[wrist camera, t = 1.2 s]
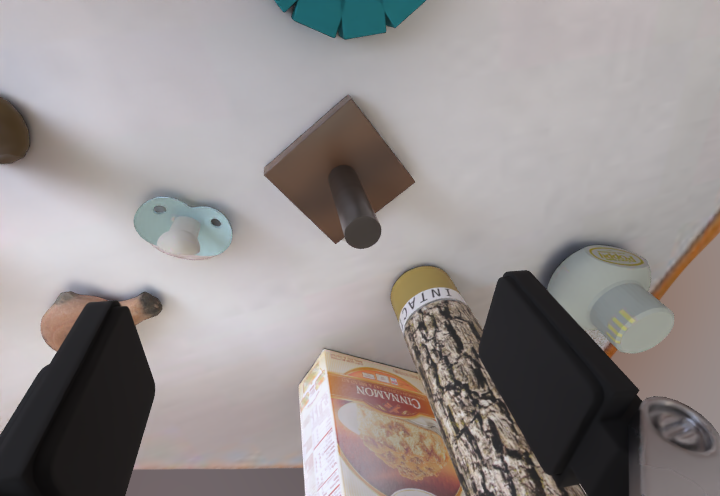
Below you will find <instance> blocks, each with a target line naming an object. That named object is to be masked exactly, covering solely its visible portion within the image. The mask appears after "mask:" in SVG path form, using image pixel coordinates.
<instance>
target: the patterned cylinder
mask: <svg viewBox="0 0 720 496" xmlns="http://www.w3.org/2000/svg"><path fill="white" fill-rule="evenodd" d="M391 303H392V306H393V308H394V311H395V314H396V316H397V319H398V322H399V324H400V327H401V330H402V333H403V335H404V338H405V341H406V343H407V346H408V348H409V351H410V354H411V356H412V359H413V362H414V364H415V367H416V369H417V372H418V375H419V377H420V380H421V382H422V385H423V388H424V390H425V393H426V396H427V398H428V401H429V403H430V406H431V409H432V411H433V414H434V417H435V419H436V422H437V424H438V427H439V430H440V432H441V435H442V437H443V440H444V443H445V445H446V448H447V451H448V453H449V456H450V458H451V461H452V464H453V466H454V469H455V472H456V474H457V477H458V479H459V482H460V485H461V487H462V490H463V492H464V495H465V496H586V494H585V493H584V491H583V489H582V488H581V486H580V485H574V486H569V487H563V488H558V486H557V485H556V483H555V481H554V479H553V478H552V476H551V475H548V474H546V473H545V472H544V471H543V469H542V468H541V466H540V464H539V462H538V461H537V459H536V457H535V455H534V454H533V452H532V450H531V448H530V447H529V445H528V443H527V441H526V439H525V438H524V436H523V434H522V432H521V431H520V429H519V427H518V425H517V424H516V422H515V420H514V418H513V416H512V415H511V413H510V411H509V409H508V408H507V406H506V404H505V402H504V400H503V399H502V397H501V395H500V393H499V392H498V390H497V388H496V386H495V385H494V383H493V381H492V379H491V377H490V376H489V374H488V372H487V370H486V369H485V367H484V365H483V363H482V362H481V359H480V357H479V352H478V348H479V344H480V340H481V337H482V333H483V329H482V328H481V326H480V324H479V323H478V321H477V320H476V318H475V316H474V315H473V313H472V312H471V310H470V309H469V307H468V305H467V304H466V302H465V300H464V299H463V297H462V296H461V295H460V293H459V291H458V290H457V288H456V287H455V285H454V283H453V282H452V280H451V279H450V277H449V276H448V274H447V273H446V272H444V271H443V270H441V269H439V268H436V267H431V266H421V267H417V268H414V269H411V270H409V271H407V272H406V273H404V274H403V275H402V276H401V277H400V278H399V279H398V280H397V281H396V283H395V284H394V286H393V288H392V291H391Z"/></svg>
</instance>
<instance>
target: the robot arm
mask: <svg viewBox="0 0 720 496" xmlns="http://www.w3.org/2000/svg"><path fill="white" fill-rule="evenodd" d="M478 352H479V357H480V359H481V362H482V363H483V365H484V367H485V369H486V370H487V372H488V374H489V376H490V377H491V379H492V381H493V383H494V385H495V386H496V388H497V390H498V392H499V393H500V395H501V397H502V399H503V400H504V402H505V404H506V406H507V408H508V409H509V411H510V413H511V415H512V416H513V418H514V420H515V422H516V424H517V425H518V427H519V429H520V431H521V432H522V434H523V436H524V438H525V439H526V441H527V443H528V445H529V447H530V448H531V450H532V452H533V454H534V455H535V457H536V459H537V461H538V462H539V464H540V466H541V468H542V469H543V471H544V472H545V473H546V474H548V475H551V476H552V478H553V479H554V481H555V483H556V485H557V486H558V488H563V487H569V486H574V485H579V484H581V486H582V487H583V489H584V490H585V492H586V496H720V436H719V433H718V432H717V431H716V429H715V428H714V427H713V425H712V424H711V423H710V422H709V421H708V420H707V419H705V418H704V417H703V416H702V415H701V414H700V413H698V412H697V411H695V410H694V409H692V408H691V407H689V406H687V405H685V404H683V403H681V402H679V401H676V400H673V399H670V398H666V397H658V396H653V397H649V398H646V399H645V400H644V401H642V400H640V398H639V397H638V396H637V393H638V391H639V389H638V388H637V387H636V386H635V385H634V384H633V383H632V382H631V381H630V379H629V378H628V377H627V376H626V375H625V374H624V373H623V372H622V371H621V370H620V369H619V368H618V366H617V365H616V364H615V363H614V362H613V361H612V360H611V359H610V358H609V357H608V356H607V355H606V353H605V352H604V351H603V350H602V349H601V348H600V347H599V346H598V345H597V344H596V343H595V342H594V340H593V339H592V338H591V337H590V336H589V335H588V334H587V333H586V332H585V331H584V330H583V328H582V327H581V326H580V325H579V324H578V323H577V322H576V321H575V320H574V319H573V318H572V317H571V315H570V314H569V313H568V312H567V311H566V310H565V309H564V308H563V307H562V306H561V305H560V304H559V302H558V301H557V300H556V299H555V298H554V297H553V296H552V295H551V294H550V293H549V292H548V291H547V289H546V288H545V287H544V286H543V285H542V284H541V283H540V282H539V281H538V280H537V279H536V278H535V276H534V275H533V274H532V273H531V272H529V271H527V270H524V271H510V272H506V273H505V274H504V275H503V277H501V278H499V279H498V282H497V285H496V288H495V292H494V295H493V299H492V302H491V306H490V309H489V313H488V316H487V320H486V323H485V326H484V330H483V333H482V337H481V340H480V344H479V348H478ZM154 396H155V383H154V379H153V376H152V373H151V371H150V368H149V365H148V362H147V359H146V356H145V353H144V350H143V347H142V344H141V341H140V338H139V335H138V332H137V329H136V327H135V324H134V321H133V318H132V315H131V312H130V309H129V308H128V307H127V306H121V304H120V303H119V302H118V301H116V300H113V301H100V302H89V303H87V304H86V305H85V307H84V308H83V310H82V311H81V313H80V315H79V316H78V318H77V320H76V321H75V323H74V325H73V326H72V328H71V330H70V331H69V333H68V335H67V336H66V338H65V340H64V341H63V343H62V345H61V346H60V348H59V349H58V351H57V353H56V354H55V356H54V358H53V359H52V361H51V363H50V364H49V365H47V366H45V367H44V368H43V369H42V370H41V371H40V372H39V373H38V375H37V376H36V378H35V380H34V381H33V383H32V385H31V386H30V388H29V389H28V391H27V393H26V394H25V396H24V397H23V399H22V401H21V402H20V404H19V405H18V407H17V409H16V410H15V412H14V414H13V415H12V417H11V418H10V420H9V422H8V423H7V425H6V426H5V428H4V430H3V431H2V433H1V435H0V496H125V494H126V491H127V488H128V484H129V480H130V477H131V474H132V471H133V467H134V464H135V460H136V457H137V454H138V450H139V447H140V444H141V440H142V437H143V433H144V430H145V427H146V423H147V420H148V417H149V413H150V410H151V406H152V403H153V400H154Z"/></svg>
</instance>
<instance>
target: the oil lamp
mask: <svg viewBox="0 0 720 496" xmlns="http://www.w3.org/2000/svg"><path fill="white" fill-rule="evenodd" d="M100 301H108V300H106V299H102V298H100V297H96V296H89V295H79V294H75V293H74V292H64V293H61V294H60V295H59V297H58V298H57V300H56V302H55V303H54V304H53V305H52V306H51V307H50V309H49V310H48V311H47V312H46V313H45V315H44V316H43V318H42V321H41V334H42V336H43V338H44V340H45V342H46V343H47V344H48V345H49V346H50V347H51V348H52V349H54V350H55V351H58V349H59V348H60V346H61V345H62V343H63V341H64V340H65V338H66V336H67V335H68V333H69V331H70V330H71V328H72V326H73V325H74V323H75V321H76V320H77V318H78V316H79V315H80V313H81V311H82V310H83V308H84V307H85V305H86V304H87V303H89V302H100ZM119 303H120V304H121V306H127V307H128V308H129V309H130V312H131V315H132V318H133V321H134V324H135V325H137V324H138V323H140V322H142V321H143V320H146V319H149V318H151V317H154V316H156V315H158V314H159V313H160V312H161V310H162V304H161V302H160V301H159V300H158V298H156V297H154V296H152V295H151V294H149V293H147V292H143V293H142V294H140V295H139V296H137V297H134V298H131V299H129V300H125V301H119Z"/></svg>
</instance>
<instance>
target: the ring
mask: <svg viewBox="0 0 720 496" xmlns="http://www.w3.org/2000/svg"><path fill="white" fill-rule="evenodd" d="M274 1H275V2H276V3H277V5H278V6H279V7H280V8H281V10H282V11H283V12H286V11H287V10H288V9H289V8H290V7H291V6H292V5H293V4H294V3H295V6H294V9H293V13H292V19H293V20H294V21H296V22H298V23H301V24H303V25H305V26H308V27H310V28H312V29H314V30H317V31H319V32H321V33H323V34H326V35H328V36H330V37H333V38H335V37H336V34H337V31H338V32H339V36H340V37H342V38H343V39H351V38H357V37H363V36H368V35H374V34H380V33H385V32H386V25H387V26H390V27H394V28H396V27H397V26H398V25H399V24H400V23H401V22H402V21H404V20H405V19H406V18H407V17H408V16H409V15H410V14H411V13H413V12H414V11H415V10H416V9H417V8H418V7H419V6H420V5H422V4H423V3H424V2H425V1H426V0H274Z"/></svg>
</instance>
